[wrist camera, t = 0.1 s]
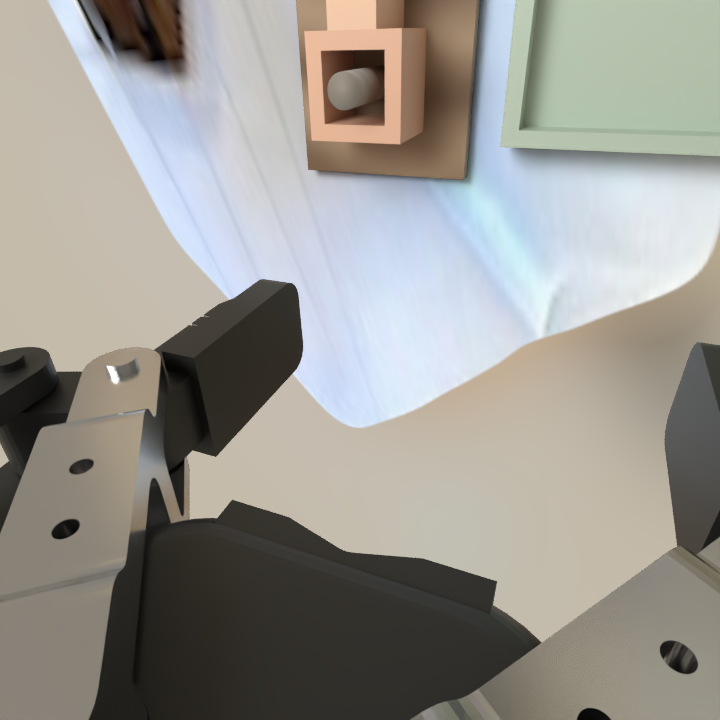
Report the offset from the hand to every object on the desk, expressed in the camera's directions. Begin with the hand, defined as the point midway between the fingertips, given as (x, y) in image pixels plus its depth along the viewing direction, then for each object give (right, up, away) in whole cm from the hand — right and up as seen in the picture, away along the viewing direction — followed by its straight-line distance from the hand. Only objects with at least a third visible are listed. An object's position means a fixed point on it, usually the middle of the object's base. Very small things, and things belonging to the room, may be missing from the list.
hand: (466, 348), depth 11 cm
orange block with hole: (-1, +21, +23) cm, 31 cm away
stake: (0, +19, +25) cm, 32 cm away
